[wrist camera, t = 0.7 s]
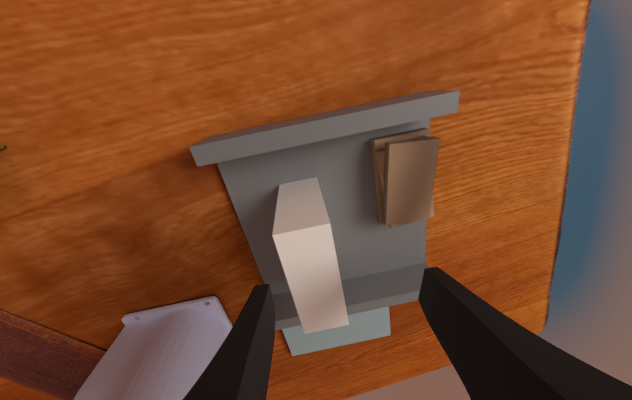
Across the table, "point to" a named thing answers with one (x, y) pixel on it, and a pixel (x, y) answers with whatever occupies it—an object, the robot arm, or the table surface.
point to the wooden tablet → (44, 357)
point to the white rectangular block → (309, 255)
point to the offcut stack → (404, 176)
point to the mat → (340, 332)
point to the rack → (329, 195)
